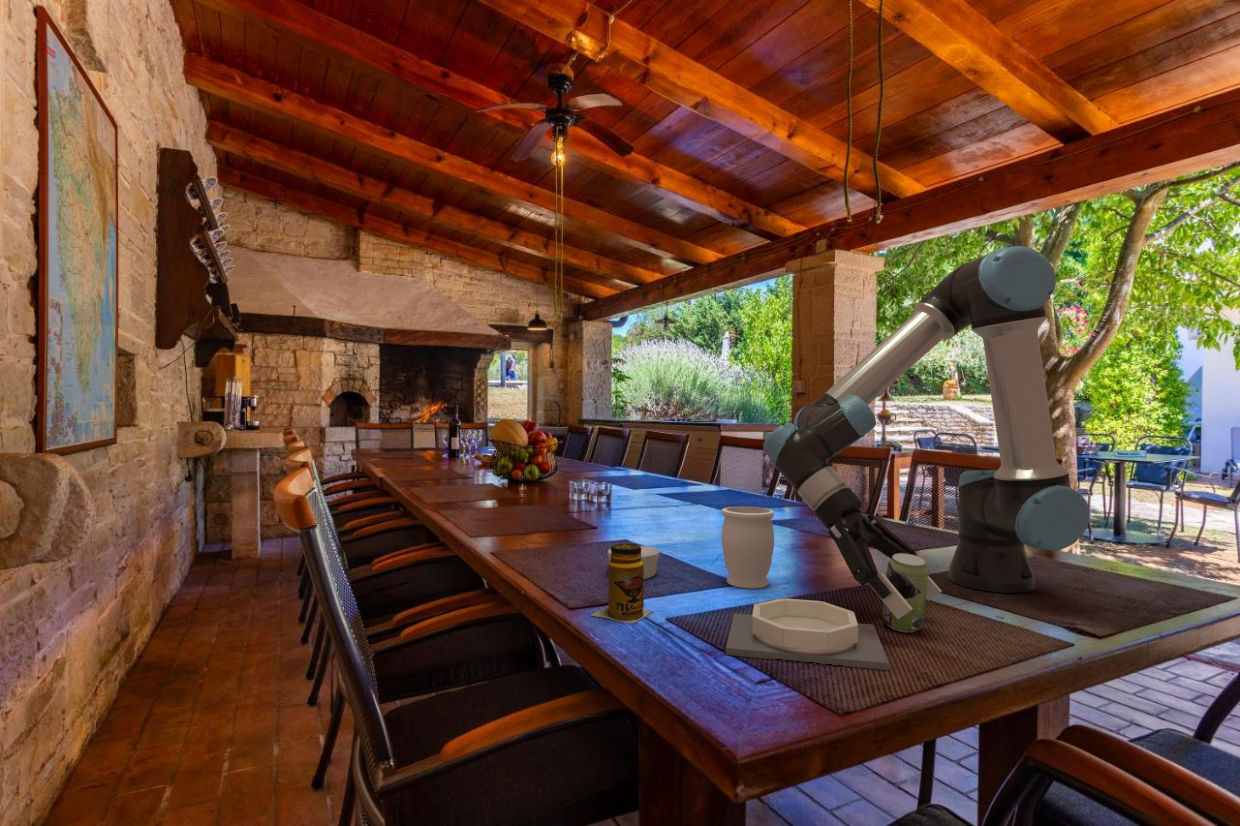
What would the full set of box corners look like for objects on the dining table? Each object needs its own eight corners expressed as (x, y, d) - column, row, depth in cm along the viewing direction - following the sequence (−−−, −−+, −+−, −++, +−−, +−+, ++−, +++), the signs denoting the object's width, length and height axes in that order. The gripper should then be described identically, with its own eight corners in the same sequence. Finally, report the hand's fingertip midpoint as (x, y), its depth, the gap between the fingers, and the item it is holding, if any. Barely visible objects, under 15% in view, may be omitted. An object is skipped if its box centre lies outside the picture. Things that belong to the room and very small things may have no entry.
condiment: (633, 624, 106) (634, 551, 105) (589, 616, 110) (590, 546, 110) (653, 612, 112) (653, 543, 112) (610, 604, 116) (611, 538, 116)
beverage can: (902, 620, 108) (902, 549, 108) (938, 634, 101) (938, 558, 101) (872, 624, 106) (873, 552, 105) (907, 639, 99) (908, 562, 99)
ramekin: (636, 565, 145) (636, 542, 145) (670, 576, 136) (670, 551, 136) (596, 574, 138) (596, 549, 138) (630, 585, 129) (630, 559, 129)
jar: (711, 580, 133) (711, 507, 133) (752, 574, 137) (752, 504, 137) (742, 593, 123) (742, 515, 123) (785, 587, 127) (785, 512, 127)
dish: (850, 623, 103) (850, 603, 103) (861, 659, 88) (861, 635, 88) (755, 616, 107) (755, 596, 107) (750, 648, 92) (750, 626, 92)
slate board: (873, 630, 103) (873, 624, 103) (889, 670, 87) (889, 663, 87) (734, 619, 108) (734, 613, 108) (725, 654, 93) (725, 647, 93)
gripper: (847, 505, 123) (930, 601, 112) (780, 521, 105) (871, 636, 95) (874, 479, 119) (963, 576, 108) (810, 492, 101) (909, 609, 91)
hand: (921, 605), depth 102 cm, fingers open, 12 cm apart
